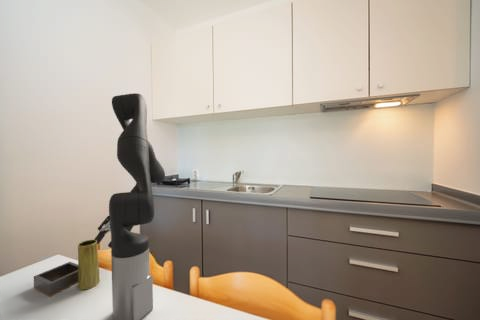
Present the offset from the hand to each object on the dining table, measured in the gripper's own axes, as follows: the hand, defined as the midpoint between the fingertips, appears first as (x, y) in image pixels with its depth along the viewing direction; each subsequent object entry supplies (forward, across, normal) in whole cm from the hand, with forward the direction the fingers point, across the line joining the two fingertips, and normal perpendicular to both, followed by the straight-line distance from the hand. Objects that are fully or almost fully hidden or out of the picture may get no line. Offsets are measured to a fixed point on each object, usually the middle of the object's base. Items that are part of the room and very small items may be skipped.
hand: (102, 245), depth 74 cm
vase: (+12, 0, +5) cm, 13 cm away
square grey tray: (+14, -10, +2) cm, 17 cm away
